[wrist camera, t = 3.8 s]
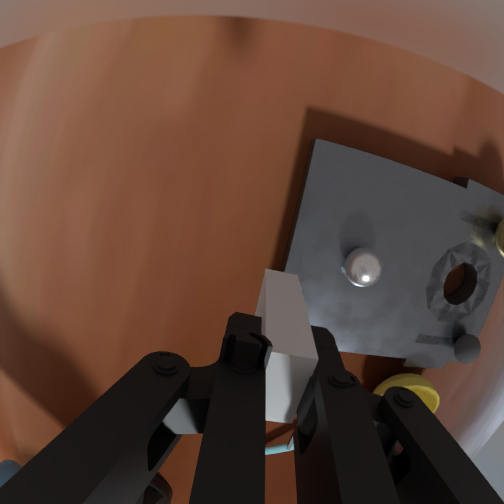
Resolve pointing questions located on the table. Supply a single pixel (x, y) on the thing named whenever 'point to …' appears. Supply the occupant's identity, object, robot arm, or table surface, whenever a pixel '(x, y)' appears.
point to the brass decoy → (500, 237)
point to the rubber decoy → (467, 348)
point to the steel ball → (363, 267)
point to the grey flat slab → (393, 254)
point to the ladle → (404, 380)
